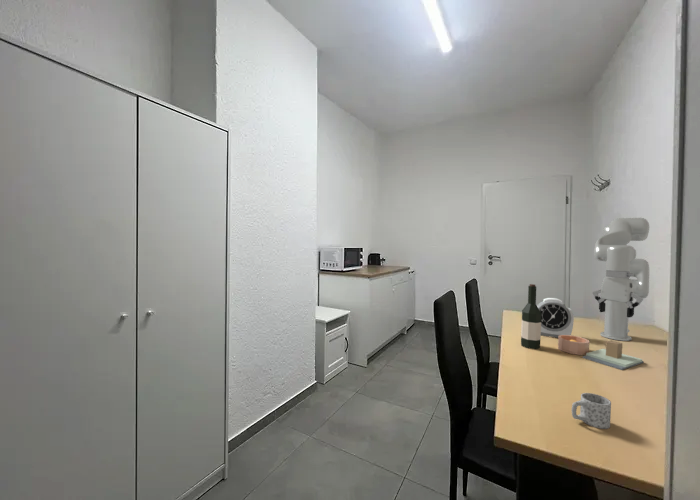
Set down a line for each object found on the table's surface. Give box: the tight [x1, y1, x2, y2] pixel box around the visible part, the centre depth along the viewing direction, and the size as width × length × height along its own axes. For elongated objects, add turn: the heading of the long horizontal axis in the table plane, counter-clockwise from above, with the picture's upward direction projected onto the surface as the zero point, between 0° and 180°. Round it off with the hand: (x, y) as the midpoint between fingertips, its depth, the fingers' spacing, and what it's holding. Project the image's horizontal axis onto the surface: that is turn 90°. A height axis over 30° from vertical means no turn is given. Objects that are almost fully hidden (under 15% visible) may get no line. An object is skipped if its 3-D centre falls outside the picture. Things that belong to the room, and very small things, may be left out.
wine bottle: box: [520, 283, 542, 350], centre depth 149 cm, size 8×8×30 cm
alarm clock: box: [536, 297, 575, 339], centre depth 166 cm, size 18×8×20 cm, turn 62°
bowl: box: [557, 334, 590, 356], centre depth 144 cm, size 12×12×6 cm
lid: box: [585, 339, 643, 367], centre depth 133 cm, size 14×14×7 cm
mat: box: [582, 355, 645, 371], centre depth 133 cm, size 18×14×1 cm
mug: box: [571, 392, 612, 430], centre depth 87 cm, size 10×7×7 cm, turn 92°
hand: (615, 314), depth 133 cm, fingers open, 9 cm apart
